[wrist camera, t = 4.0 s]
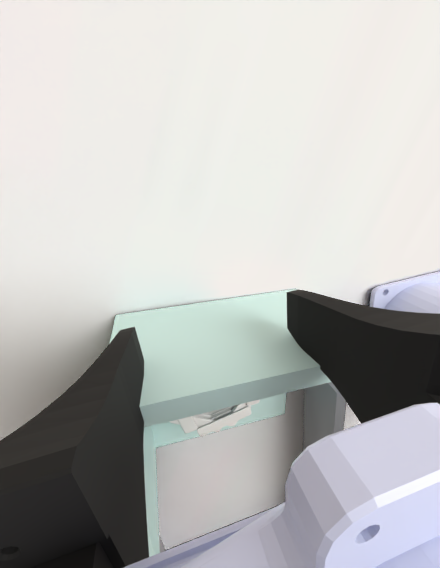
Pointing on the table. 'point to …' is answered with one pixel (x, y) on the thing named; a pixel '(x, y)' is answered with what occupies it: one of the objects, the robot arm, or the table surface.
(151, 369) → the l-shaped corner panel
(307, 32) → the table surface
